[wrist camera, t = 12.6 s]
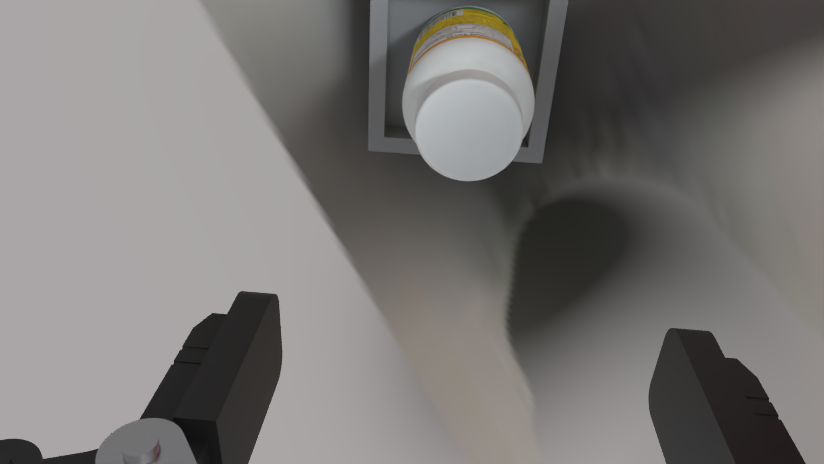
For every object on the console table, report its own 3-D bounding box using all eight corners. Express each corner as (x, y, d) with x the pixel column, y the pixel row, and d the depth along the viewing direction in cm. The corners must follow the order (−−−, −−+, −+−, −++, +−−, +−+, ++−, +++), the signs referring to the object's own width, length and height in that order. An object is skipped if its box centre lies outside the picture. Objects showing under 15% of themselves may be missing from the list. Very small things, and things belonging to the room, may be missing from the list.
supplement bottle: (429, -11, 30) (417, 38, 22) (537, 21, 31) (566, 81, 22) (400, 97, 33) (380, 176, 25) (500, 125, 33) (514, 213, 25)
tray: (565, -30, 30) (572, -23, 28) (537, 146, 34) (542, 163, 33) (376, -42, 30) (371, -35, 28) (373, 135, 35) (367, 150, 33)
